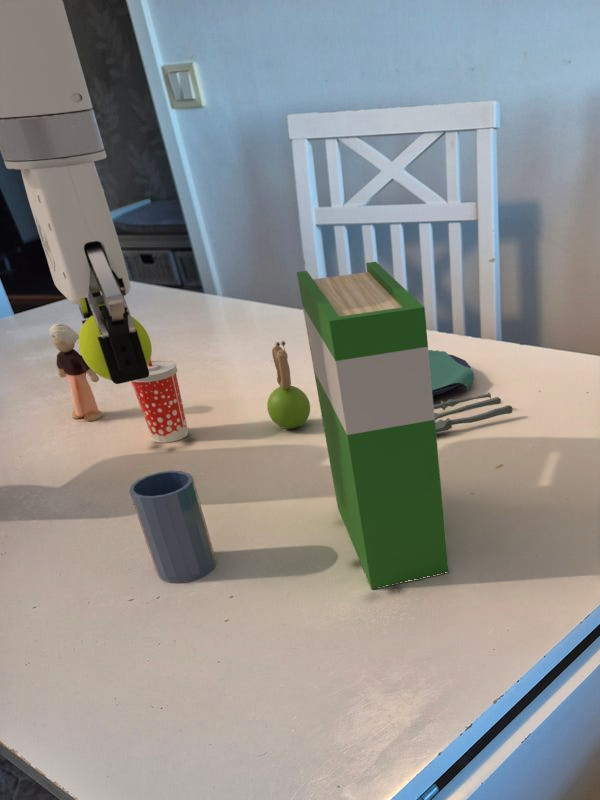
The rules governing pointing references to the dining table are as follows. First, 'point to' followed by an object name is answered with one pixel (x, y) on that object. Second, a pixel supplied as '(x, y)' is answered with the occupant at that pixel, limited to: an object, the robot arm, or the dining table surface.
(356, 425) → the hardback book
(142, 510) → the cup
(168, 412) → the beverage cup
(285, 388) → the snail figurine
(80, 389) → the grandmother figurine
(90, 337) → the ball
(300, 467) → the dining table surface
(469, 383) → the cutlery set
